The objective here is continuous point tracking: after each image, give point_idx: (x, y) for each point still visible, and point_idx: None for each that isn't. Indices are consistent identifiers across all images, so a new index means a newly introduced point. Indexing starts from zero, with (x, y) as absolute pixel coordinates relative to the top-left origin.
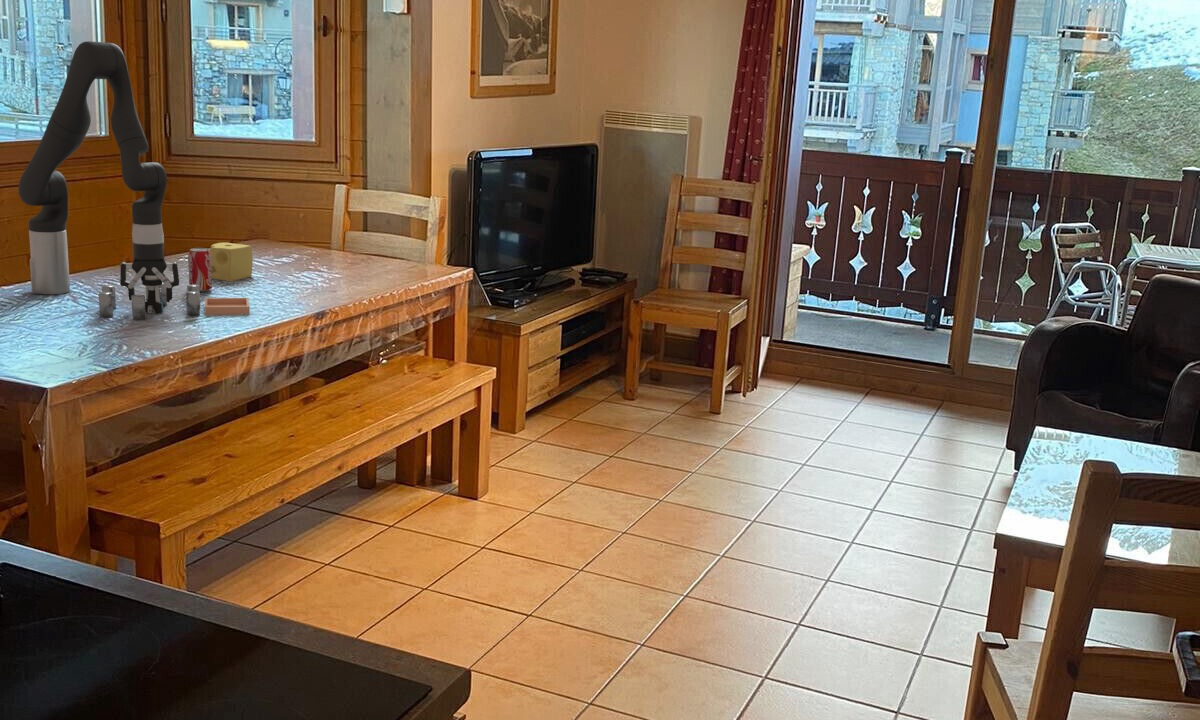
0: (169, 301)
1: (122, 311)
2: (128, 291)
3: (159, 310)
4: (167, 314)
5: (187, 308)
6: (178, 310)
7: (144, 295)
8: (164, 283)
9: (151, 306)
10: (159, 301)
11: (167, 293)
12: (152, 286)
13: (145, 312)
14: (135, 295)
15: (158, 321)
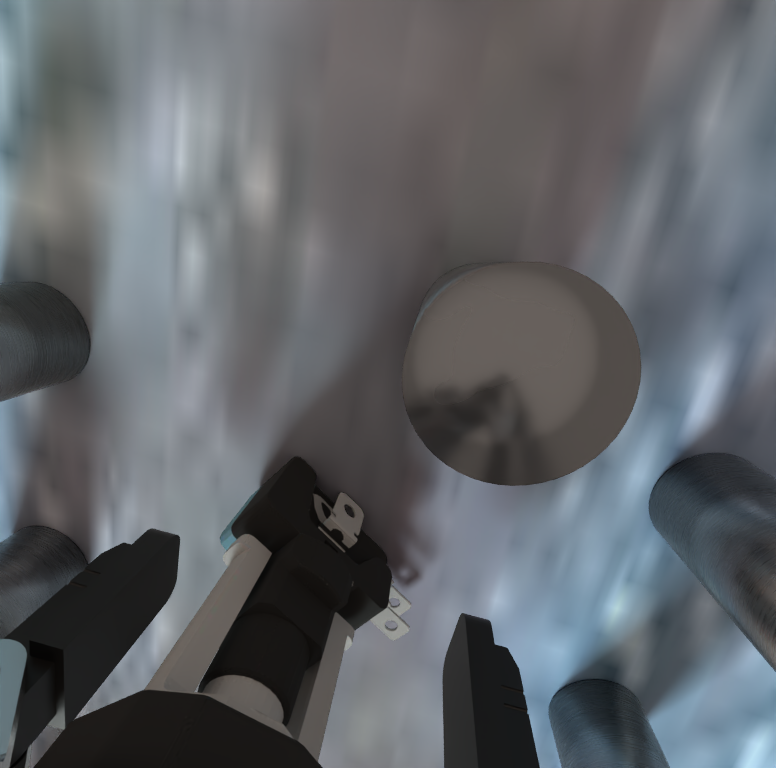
0: (151, 533)
1: (532, 614)
2: (536, 755)
3: (275, 477)
4: (231, 420)
5: (21, 327)
6: (148, 519)
7: (405, 389)
8: (2, 735)
9: (325, 534)
10: (237, 540)
11: (101, 593)
12: (212, 708)
13: (421, 305)
14: (550, 431)
15: (332, 166)
